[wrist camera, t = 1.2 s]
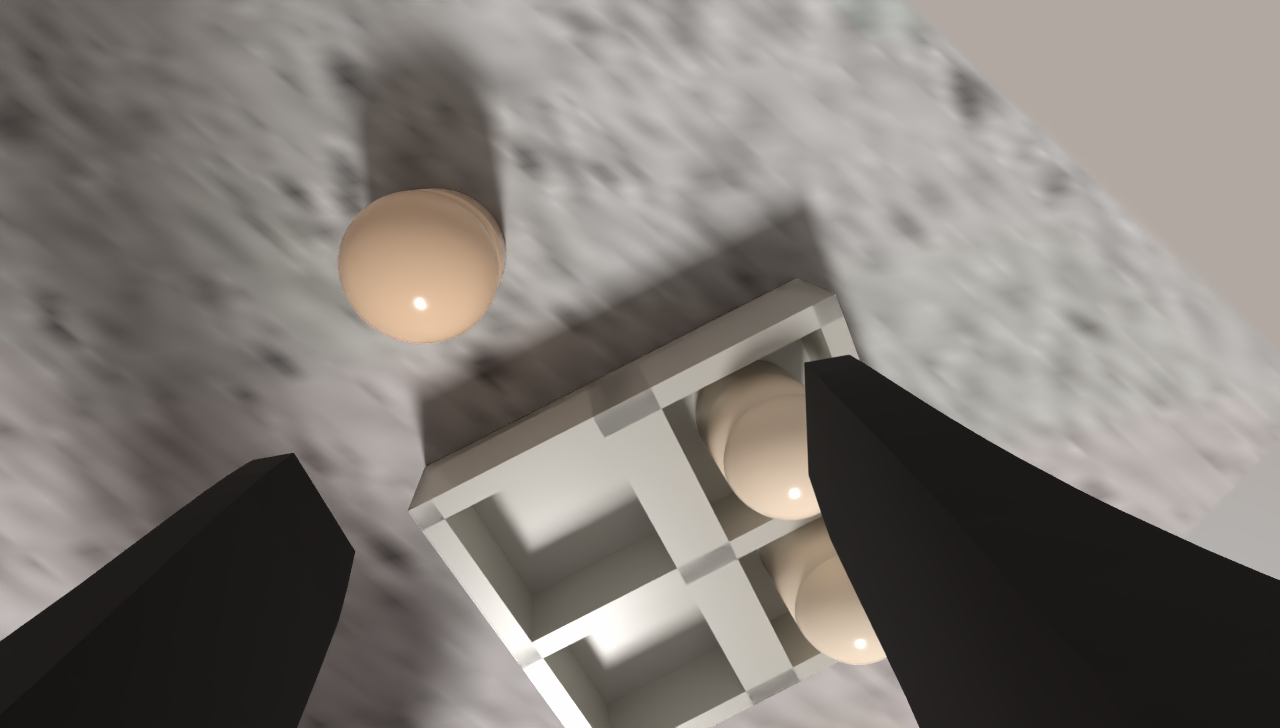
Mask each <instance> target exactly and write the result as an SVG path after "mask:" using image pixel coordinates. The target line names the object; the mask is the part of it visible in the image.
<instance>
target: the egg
mask: <svg viewBox="0 0 1280 728" xmlns="http://www.w3.org/2000/svg"><path fill="white" fill-rule="evenodd" d="M505 265H506V247H505V242H504V238H503V235H502V232H501V230H500V228H499V226H498V224H497V222H496V221H495V219H494V218H493V216H492V215H491V214H490V213H489V211H488V210H487V209H486V208H485V207H483V206H482V205H481V204H480V203H479V202H477V201H476V200H475V199H473V198H471V197H469V196H467V195H465V194H463V193H460V192H458V191H454V190H450V189H443V188H430V189H418V190H408V191H400V192H395V193H392V194H388V195H386V196H383V197H381V198H379V199H377V200H375V201H373V202H372V203H370V204H368V205H367V206H366V207H365V208H363V209H362V210H361V211H360V212H359V213H358V214H357V215H356V216H355V217H354V218H353V220H352V221H351V223H350V224H349V226H348V227H347V229H346V231H345V233H344V236H343V238H342V241H341V244H340V247H339V254H338V271H339V278H340V282H341V285H342V288H343V291H344V293H345V295H346V298H347V299H348V301H349V303H350V305H351V306H352V308H353V309H354V310H355V311H356V313H357V314H358V315H359V316H360V317H361V318H362V319H363V320H364V321H365V322H366V323H367V324H369V325H370V326H371V327H372V328H374V329H375V330H377V331H379V332H380V333H382V334H384V335H386V336H388V337H390V338H393V339H396V340H399V341H403V342H408V343H415V344H432V343H438V342H442V341H446V340H449V339H452V338H455V337H457V336H459V335H461V334H463V333H464V332H466V331H468V330H469V329H470V328H472V327H473V326H474V325H475V324H477V322H478V321H479V320H480V319H481V318H482V317H483V316H484V315H485V313H486V312H487V310H488V309H489V307H490V306H491V304H492V302H493V300H494V297H495V295H496V292H497V289H498V287H499V284H500V281H501V279H502V276H503V273H504V269H505Z"/></svg>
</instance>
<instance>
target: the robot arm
mask: <svg viewBox="0 0 1280 728" xmlns="http://www.w3.org/2000/svg"><path fill="white" fill-rule="evenodd" d="M804 373H805V399H806V426H807V452H808V475H809V478H810V481H811V484H812V487H813V490H814V493H815V496H816V499H817V502H818V505H819V508H820V511H821V514H822V517H823V520H824V523H825V526H826V528H827V531H828V534H829V537H830V540H831V542H832V544H833V546H834V548H835V550H836V553H837V555H838V557H839V559H840V561H841V563H842V565H843V567H844V569H845V571H846V574H847V576H848V578H849V580H850V582H851V584H852V586H853V588H854V590H855V592H856V594H857V597H858V599H859V601H860V603H861V605H862V607H863V609H864V611H865V613H866V615H867V617H868V619H869V621H870V623H871V625H872V628H873V630H874V632H875V634H876V636H877V638H878V640H879V642H880V644H881V646H882V648H883V650H884V652H885V654H886V656H887V659H888V661H889V663H890V665H891V667H892V669H893V671H894V673H895V675H896V677H897V679H898V681H899V683H900V685H901V687H902V690H903V692H904V694H905V696H906V698H907V700H908V703H909V705H910V707H911V709H912V712H913V714H914V716H915V719H916V721H917V723H918V725H919V728H1280V580H1278V579H1275V578H1273V577H1270V576H1268V575H1265V574H1263V573H1260V572H1258V571H1256V570H1253V569H1251V568H1249V567H1246V566H1244V565H1242V564H1239V563H1237V562H1234V561H1232V560H1230V559H1227V558H1225V557H1223V556H1220V555H1218V554H1216V553H1213V552H1211V551H1209V550H1206V549H1204V548H1202V547H1199V546H1197V545H1195V544H1193V543H1191V542H1189V541H1186V540H1184V539H1182V538H1180V537H1178V536H1175V535H1173V534H1171V533H1169V532H1167V531H1165V530H1162V529H1160V528H1158V527H1156V526H1154V525H1151V524H1149V523H1147V522H1145V521H1143V520H1141V519H1138V518H1136V517H1134V516H1132V515H1130V514H1128V513H1125V512H1123V511H1121V510H1119V509H1117V508H1115V507H1113V506H1111V505H1109V504H1107V503H1104V502H1102V501H1100V500H1098V499H1096V498H1094V497H1092V496H1090V495H1088V494H1086V493H1084V492H1082V491H1080V490H1078V489H1076V488H1074V487H1073V486H1071V485H1069V484H1067V483H1065V482H1063V481H1061V480H1059V479H1058V478H1056V477H1054V476H1052V475H1050V474H1048V473H1046V472H1044V471H1043V470H1041V469H1039V468H1037V467H1035V466H1033V465H1031V464H1029V463H1028V462H1026V461H1024V460H1022V459H1020V458H1018V457H1016V456H1015V455H1013V454H1011V453H1009V452H1008V451H1006V450H1004V449H1002V448H1000V447H999V446H997V445H995V444H993V443H992V442H990V441H988V440H986V439H985V438H983V437H981V436H980V435H978V434H976V433H974V432H973V431H971V430H969V429H968V428H966V427H964V426H963V425H961V424H959V423H958V422H956V421H954V420H953V419H951V418H949V417H948V416H946V415H945V414H943V413H941V412H940V411H938V410H936V409H935V408H933V407H932V406H930V405H928V404H927V403H925V402H924V401H922V400H921V399H919V398H917V397H916V396H914V395H913V394H911V393H910V392H908V391H906V390H905V389H903V388H902V387H900V386H899V385H897V384H895V383H894V382H892V381H891V380H889V379H888V378H886V377H885V376H883V375H881V374H880V373H878V372H877V371H875V370H874V369H872V368H871V367H869V366H867V365H866V364H864V363H863V362H861V361H859V360H858V359H856V358H854V357H853V356H851V355H843V356H838V357H832V358H826V359H821V360H815V361H810V362H804ZM354 554H355V550H354V549H353V547H352V546H351V544H350V542H349V541H348V539H347V538H346V536H345V534H344V533H343V531H342V529H341V528H340V526H339V525H338V523H337V521H336V520H335V518H334V517H333V515H332V513H331V512H330V510H329V509H328V507H327V505H326V504H325V502H324V501H323V499H322V497H321V496H320V494H319V492H318V491H317V489H316V488H315V486H314V484H313V483H312V481H311V480H310V478H309V476H308V475H307V473H306V472H305V470H304V468H303V467H302V465H301V464H300V462H299V460H298V459H297V457H296V455H295V454H294V453H290V454H284V455H279V456H273V457H268V458H262V459H256V460H252V461H250V462H249V463H247V464H246V465H244V466H242V467H241V468H239V469H237V470H236V471H234V472H233V473H231V474H230V475H228V476H226V477H225V478H223V479H222V480H221V481H219V482H218V483H216V484H215V485H213V486H212V487H210V488H209V489H208V490H206V491H205V492H203V493H202V494H201V495H199V496H198V497H196V498H195V499H194V500H192V501H191V502H190V503H188V504H187V505H186V506H184V507H183V508H181V509H180V510H179V511H177V512H176V513H175V514H173V515H172V516H171V517H169V518H168V519H167V520H165V521H164V522H163V523H161V524H160V525H159V526H157V527H156V528H155V529H153V530H152V531H151V532H149V533H148V534H147V535H145V536H144V537H143V538H141V539H140V540H139V541H137V542H136V543H135V544H133V545H132V546H131V547H129V548H128V549H127V550H125V551H124V552H123V553H121V554H120V555H118V556H117V557H116V558H114V559H113V560H112V561H110V562H109V563H108V564H106V565H105V566H104V567H102V568H101V569H100V570H98V571H97V572H96V573H94V574H93V575H92V576H90V577H89V578H88V579H86V580H85V581H84V582H82V583H81V584H80V585H78V586H77V587H76V588H74V589H73V590H71V591H70V592H69V593H67V594H66V595H64V596H63V597H62V598H60V599H59V600H57V601H56V602H55V603H53V604H52V605H50V606H49V607H48V608H46V609H45V610H43V611H42V612H41V613H39V614H38V615H36V616H35V617H34V618H32V619H31V620H29V621H28V622H27V623H25V624H24V625H22V626H21V627H20V628H18V629H17V630H15V631H14V632H13V633H11V634H10V635H9V636H7V637H6V638H4V639H3V640H2V641H0V728H297V726H298V724H299V721H300V719H301V716H302V714H303V711H304V709H305V706H306V704H307V701H308V698H309V696H310V693H311V691H312V688H313V686H314V683H315V681H316V678H317V676H318V673H319V671H320V668H321V665H322V663H323V660H324V658H325V655H326V652H327V650H328V647H329V645H330V642H331V639H332V637H333V634H334V631H335V629H336V626H337V623H338V621H339V617H340V613H341V610H342V606H343V602H344V598H345V594H346V591H347V586H348V582H349V577H350V573H351V568H352V564H353V559H354Z"/></svg>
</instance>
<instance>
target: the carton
mask: <svg viewBox="0 0 1280 728" xmlns="http://www.w3.org/2000/svg"><path fill="white" fill-rule="evenodd" d="M843 355H851V356H853V357H854V358H856V359H858V360H859V357H858V354H857V352H856V349H855V346H854V343H853V340H852V338H851V335H850V332H849V329H848V327H847V324H846V321H845V318H844V316H843V313H842V310H841V307H840V305H839V302H838V299H837V296H836V294H835V293H833V292H830V291H828V290H825V289H823V288H820V287H818V286H816V285H813V284H811V283H808V282H806V281H803V280H801V279H798V278H796V279H794V280H792V281H790V282H788V283H786V284H784V285H782V286H780V287H778V288H776V289H774V290H772V291H770V292H768V293H766V294H764V295H762V296H760V297H758V298H756V299H754V300H752V301H750V302H749V303H747V304H745V305H743V306H741V307H739V308H737V309H735V310H733V311H731V312H729V313H727V314H725V315H723V316H721V317H719V318H717V319H715V320H713V321H711V322H709V323H707V324H705V325H703V326H701V327H699V328H697V329H695V330H693V331H691V332H690V333H688V334H686V335H684V336H682V337H680V338H678V339H676V340H674V341H672V342H670V343H668V344H666V345H664V346H662V347H660V348H658V349H656V350H654V351H652V352H650V353H648V354H646V355H644V356H642V357H640V358H638V359H636V360H634V361H632V362H631V363H629V364H627V365H625V366H623V367H621V368H619V369H617V370H615V371H613V372H611V373H609V374H607V375H605V376H603V377H601V378H599V379H597V380H595V381H593V382H591V383H589V384H587V385H585V386H583V387H581V388H579V389H577V390H575V391H574V392H572V393H570V394H568V395H566V396H564V397H562V398H560V399H558V400H556V401H554V402H552V403H550V404H548V405H546V406H544V407H542V408H540V409H538V410H536V411H534V412H532V413H530V414H528V415H526V416H524V417H522V418H520V419H518V420H516V421H515V422H513V423H511V424H509V425H507V426H505V427H503V428H501V429H499V430H497V431H495V432H493V433H491V434H489V435H487V436H485V437H483V438H481V439H479V440H477V441H475V442H473V443H471V444H469V445H467V446H465V447H463V448H461V449H459V450H458V451H456V452H454V453H452V454H450V455H448V456H446V457H444V458H442V459H440V460H438V461H436V462H434V463H432V464H430V465H428V466H426V467H425V469H424V471H423V474H422V476H421V479H420V481H419V484H418V486H417V489H416V491H415V494H414V496H413V499H412V502H411V504H410V507H409V509H408V513H409V514H410V515H411V517H412V518H413V519H414V521H415V522H416V524H417V525H418V526H419V528H420V529H421V530H422V532H423V533H424V534H425V536H426V537H427V539H428V540H429V541H430V543H431V544H432V545H433V547H434V548H435V550H436V551H437V552H438V554H439V555H440V556H441V558H442V559H443V561H444V562H445V563H446V565H447V566H448V567H449V569H450V570H451V572H452V573H453V574H454V576H455V577H456V578H457V580H458V581H459V582H460V584H461V585H462V587H463V588H464V589H465V591H466V592H467V593H468V595H469V596H470V598H471V599H472V600H473V602H474V603H475V604H476V606H477V607H478V609H479V610H480V611H481V613H482V614H483V615H484V617H485V618H486V620H487V621H488V622H489V624H490V625H491V626H492V628H493V629H494V630H495V632H496V633H497V635H498V636H499V637H500V639H501V640H502V641H503V643H504V644H505V646H506V647H507V648H508V650H509V651H510V652H511V654H512V655H513V657H514V658H515V659H516V661H517V662H518V663H519V665H520V666H521V668H522V669H523V670H524V672H525V673H526V674H527V676H528V677H529V678H530V680H531V681H532V683H533V684H534V685H535V687H536V688H537V689H538V691H539V692H540V694H541V695H542V696H543V698H544V699H545V700H546V702H547V703H548V705H549V706H550V707H551V709H552V710H553V711H554V713H555V714H556V716H557V717H558V718H559V720H560V721H561V722H562V724H563V725H564V726H565V728H710V727H712V726H714V725H716V724H718V723H720V722H722V721H724V720H726V719H728V718H730V717H732V716H734V715H736V714H737V713H739V712H741V711H743V710H745V709H747V708H749V707H751V706H753V705H755V704H757V703H759V702H761V701H763V700H765V699H767V698H769V697H771V696H773V695H775V694H777V693H779V692H781V691H782V690H784V689H786V688H788V687H790V686H792V685H794V684H796V683H798V682H800V681H802V680H804V679H806V678H808V677H810V676H812V675H814V674H816V673H818V672H820V671H822V670H824V669H826V668H827V667H829V666H831V665H833V664H835V663H837V662H839V661H836V660H834V659H832V658H830V657H828V656H826V655H824V654H823V653H821V652H820V651H819V650H817V649H816V648H815V647H814V646H813V645H812V644H811V643H810V642H809V641H808V640H807V639H806V638H805V636H804V635H803V634H802V632H801V630H800V629H799V627H798V625H797V624H796V622H795V620H794V618H793V617H792V615H791V613H790V611H789V610H788V608H787V606H786V604H785V603H784V601H783V599H782V597H781V596H780V594H779V592H778V590H777V589H776V587H775V585H774V583H773V581H772V580H771V578H770V576H769V574H768V573H767V571H766V569H765V567H764V566H763V564H762V561H761V559H760V554H759V548H760V547H762V546H764V545H766V544H768V543H770V542H772V541H774V540H776V539H778V538H780V537H782V536H784V535H786V534H788V533H790V532H792V531H794V530H795V529H797V528H799V527H801V526H803V525H805V524H807V523H809V522H811V521H813V520H815V519H817V518H819V517H821V516H822V514H821V513H819V514H817V515H815V516H812V517H809V518H806V519H801V520H779V519H774V518H770V517H767V516H764V515H762V514H760V513H758V512H756V511H754V510H753V509H751V508H750V507H748V506H747V505H746V504H745V503H743V502H742V501H741V500H740V499H739V498H738V496H737V495H736V494H735V493H734V491H733V490H732V489H731V487H730V485H729V484H728V482H727V480H726V479H725V477H724V476H723V474H722V472H721V471H720V469H719V467H718V466H717V464H716V462H715V461H714V459H713V457H712V456H711V454H710V452H709V451H708V449H707V448H706V446H705V444H704V443H703V441H702V439H701V438H700V436H699V433H698V431H697V427H696V420H695V411H696V405H697V402H698V398H699V396H700V394H701V392H702V390H703V388H704V387H705V386H707V385H709V384H711V383H713V382H715V381H717V380H719V379H721V378H723V377H725V376H727V375H729V374H731V373H733V372H735V371H737V370H739V369H741V368H743V367H745V366H747V365H749V364H751V363H752V362H754V361H756V360H764V361H768V362H771V363H774V364H776V365H778V366H779V367H781V368H782V369H784V370H785V371H786V372H787V373H789V374H790V375H791V376H792V377H794V378H795V379H796V380H797V381H799V382H800V383H801V384H802V385H804V386H805V373H804V362H810V361H815V360H821V359H826V358H832V357H838V356H843ZM859 361H860V360H859Z"/></svg>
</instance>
